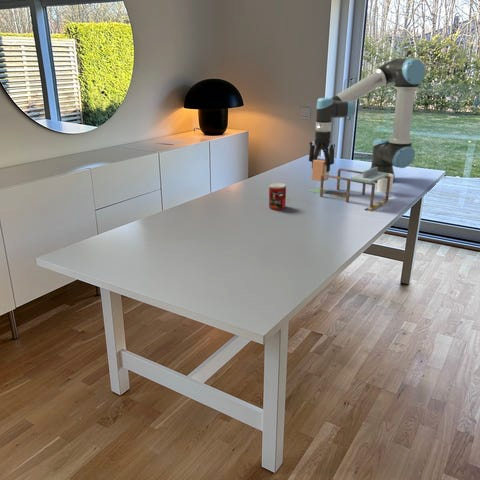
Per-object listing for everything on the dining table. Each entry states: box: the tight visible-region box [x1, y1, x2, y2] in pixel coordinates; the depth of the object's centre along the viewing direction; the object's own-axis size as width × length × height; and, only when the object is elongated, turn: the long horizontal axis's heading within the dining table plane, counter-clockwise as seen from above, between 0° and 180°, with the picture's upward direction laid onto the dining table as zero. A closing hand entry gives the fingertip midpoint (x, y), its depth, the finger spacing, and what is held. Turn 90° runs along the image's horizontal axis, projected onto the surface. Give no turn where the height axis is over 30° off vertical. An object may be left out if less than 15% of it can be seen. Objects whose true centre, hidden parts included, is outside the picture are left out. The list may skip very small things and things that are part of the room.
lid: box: [350, 167, 389, 183], centre depth 221 cm, size 19×10×4 cm, turn 139°
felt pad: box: [308, 187, 331, 195], centre depth 243 cm, size 8×8×1 cm
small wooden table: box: [319, 168, 391, 212], centre depth 232 cm, size 20×38×13 cm, turn 49°
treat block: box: [311, 158, 330, 182], centre depth 238 cm, size 6×6×10 cm
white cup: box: [376, 173, 395, 194], centre depth 240 cm, size 8×8×10 cm
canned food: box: [268, 182, 287, 211], centre depth 220 cm, size 8×8×11 cm
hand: (320, 176), depth 240 cm, fingers closed on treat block, 6 cm apart
